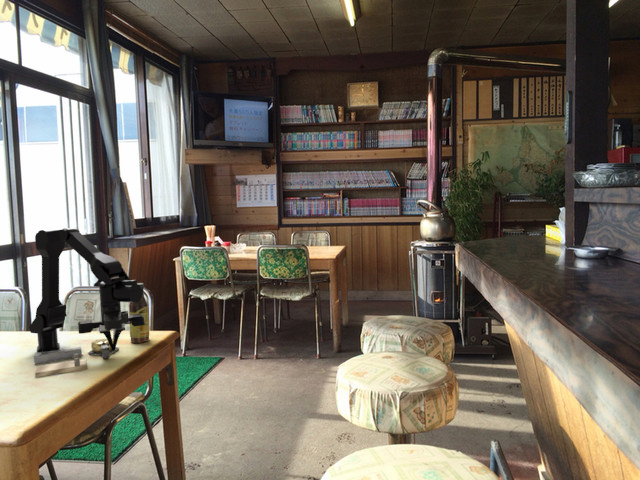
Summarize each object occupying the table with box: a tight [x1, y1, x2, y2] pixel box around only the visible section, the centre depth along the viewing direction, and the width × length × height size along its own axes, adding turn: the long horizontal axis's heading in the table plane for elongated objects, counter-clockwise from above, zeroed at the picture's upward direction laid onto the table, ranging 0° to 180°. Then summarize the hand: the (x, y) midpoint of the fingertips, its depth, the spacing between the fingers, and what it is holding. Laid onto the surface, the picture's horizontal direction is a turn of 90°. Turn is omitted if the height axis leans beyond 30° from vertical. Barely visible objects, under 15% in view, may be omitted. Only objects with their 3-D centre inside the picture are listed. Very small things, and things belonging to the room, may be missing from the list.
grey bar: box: [33, 346, 83, 365], centre depth 153 cm, size 13×4×3 cm, turn 117°
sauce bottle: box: [128, 282, 150, 344], centre depth 170 cm, size 6×6×20 cm
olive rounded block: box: [90, 338, 113, 359], centre depth 157 cm, size 14×7×3 cm, turn 27°
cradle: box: [34, 354, 88, 378], centre depth 143 cm, size 13×6×3 cm, turn 117°
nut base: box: [88, 346, 120, 357], centre depth 160 cm, size 9×9×1 cm
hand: (113, 350), depth 155 cm, fingers closed
